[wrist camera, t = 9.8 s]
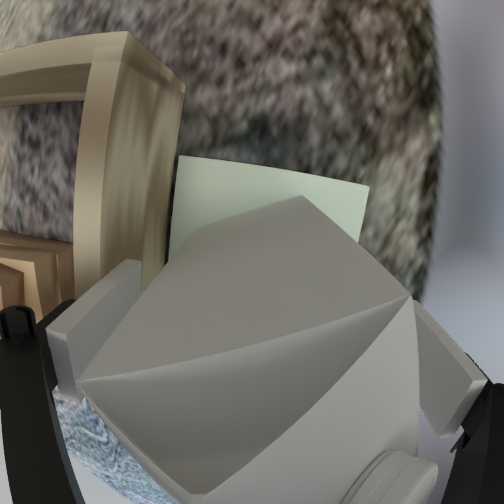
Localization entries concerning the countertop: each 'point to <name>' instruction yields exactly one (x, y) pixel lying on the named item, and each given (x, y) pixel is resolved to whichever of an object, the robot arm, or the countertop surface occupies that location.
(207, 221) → the mat
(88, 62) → the frame
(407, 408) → the milk carton
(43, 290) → the offcut stack
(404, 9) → the countertop surface
